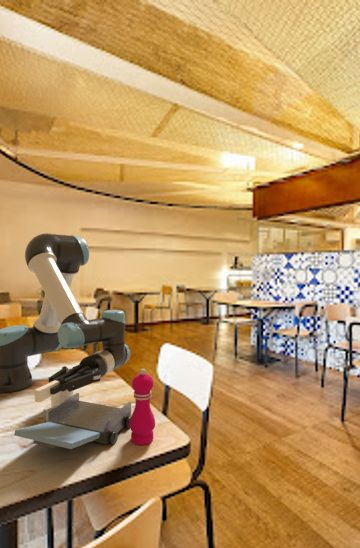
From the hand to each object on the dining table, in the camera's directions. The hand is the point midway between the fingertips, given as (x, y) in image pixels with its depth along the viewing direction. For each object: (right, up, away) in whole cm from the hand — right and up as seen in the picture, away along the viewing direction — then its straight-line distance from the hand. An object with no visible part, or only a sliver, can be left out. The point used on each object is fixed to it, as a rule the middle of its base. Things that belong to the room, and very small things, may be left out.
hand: (37, 396), depth 72 cm
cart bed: (+6, -18, +20) cm, 28 cm away
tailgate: (+4, -15, +13) cm, 20 cm away
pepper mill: (+23, -18, +15) cm, 33 cm away
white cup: (-7, -17, +33) cm, 38 cm away
